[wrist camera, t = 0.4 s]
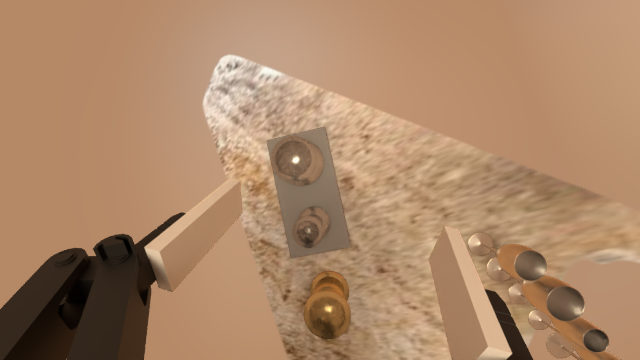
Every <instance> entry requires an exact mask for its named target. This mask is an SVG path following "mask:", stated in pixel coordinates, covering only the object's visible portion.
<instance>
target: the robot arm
mask: <svg viewBox="0 0 640 360" xmlns="http://www.w3.org/2000/svg"><path fill="white" fill-rule="evenodd" d="M241 214H242V199H241V184H240V180H236V179H231V178H229V179H228V180H227V181H226V182H225V183H223V184H222V185H221V186H220V187H218V188H217V189H216V190H215V191H213V192H212V193H211V194H210V195H208V196H207V197H206V198H205V199H203V200H202V201H201V202H200V203H198V204H197V205H196V206H195V207H194V208H192V209H191V210H190V211H189V212H187V213H179V214H177V215H174V216H172V217H171V218H169V219H168V220H167V221H165V222H164V224H162V225H160V226H159V227H158V228H157V229H155V230H154V231H152V232H151V233H150V234H148V235H147V236H146V237H145V238H143V239H142V240H141V241H139V242H138V243H137V244H135V245H134V242H133V240H132V237H130V236H129V235H125V234H119V235H114V236H110V237H108V238H105V239H103V240H101V241H100V242H99V243H98V244H96V246H95V247H94V248H93V250H94V252H95V254H96V256H88V255H87V253H86V251H85V250H83V249H82V248H72V249H67V250H64V251H62V252H59V253H57V254H55V255H53V256H52V257H50V258H49V259H48V260H47V261H46V262H45V263H44V264H43V265H42V266H41V267H40V268H39V269H38V270H37V271H36V272H35V273H34V274H33V275H32V277H31V278H30V279H29V280H28V281H27V282H26V283H25V284H24V285H23V286H22V287H21V288H20V289H19V290H18V291H17V292H16V293H15V294H14V295H13V297H11V299H10V300H9V301H8V302H7V303H6V304H5V305H4V306H3V307H2V308H1V309H0V360H66V359H67V360H144V353H145V344H146V335H147V326H148V316H149V308H150V298H151V285H152V284H153V282H155V280H156V281H157V284H158V286H159V288H161V289H164V290H167V291H171V292H173V291H174V290H175V289H176V288H177V286H178V285H179V284H180V283H181V282H182V281H183V280H184V279H185V277H186V276H187V275H188V274H189V273H190V272H191V271H192V269H193V268H194V267H195V266H196V265H197V264H198V263H199V262H200V261H201V259H202V258H203V257H204V256H205V255H206V254H207V253H208V251H209V250H210V249H211V248H212V247H213V246H214V245H215V243H216V242H217V241H218V240H219V239H220V238H221V237H222V236H223V235H224V233H225V232H226V231H227V230H228V229H229V228H230V227H231V226H232V224H233V223H234V222H235V221H236V220H237V219H238V218H239V216H240V215H241ZM429 262H430V266H431V270H432V275H433V279H434V284H435V288H436V292H437V297H438V301H439V306H440V310H441V314H442V319H443V323H444V328H445V332H446V337H447V341H448V345H449V350H450V354H451V359H452V360H533V358H532V356H531V354H530V352H529V350H528V348H527V346H526V344H525V342H524V340H523V338H522V336H521V334H520V332H519V330H518V328H517V327H516V326H515V325H516V324H515V322H514V320H513V318H512V317H511V314H510V312H509V310H508V308H507V306H506V304H505V302H504V301H503V300H502V299H501V298H500V296H499V295H498V294H497V293H496V292H494V291H490V290H486V289H484V287H483V285H482V283H481V280H480V278H479V276H478V273H477V271H476V269H475V266H474V264H473V262H472V260H471V257H470V255H469V253H468V250H467V248H466V246H465V243H464V241H463V239H462V237H461V234H460V232H459V230H458V229H456V228H451V227H447V226H444V228H443V230H442V232H441V234H440V236H439V239H438V241H437V243H436V245H435V247H434V249H433V251H432V253H431V255H430V257H429Z"/></svg>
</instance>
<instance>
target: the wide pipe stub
mask: <svg viewBox="0 0 640 360" xmlns="http://www.w3.org/2000/svg"><path fill="white" fill-rule="evenodd" d="M271 165H272V168H273V170H274V172H275V173H276V174H277V175H278V176H279V177H280V178H281V179H283V180H285V181H288V182H289V183H291V184H293V185H297V186H305V185H309V184H311V183H313V182H315V181H316V180H317V179H318V178H319V177H320V176H321V174H322V172H323V169H324V157H323V154H322V152H321V150H320V149H319V148H318V147H317V146H316V145H315V144H314V143H312V142H310V141H308V140H306V139H305V138H303V137H300V136H288V137H285V138H283V139H281V140H280V141H279V142H278V143H277V144H276V145H275V146H274V148H273V150H272V153H271Z"/></svg>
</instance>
